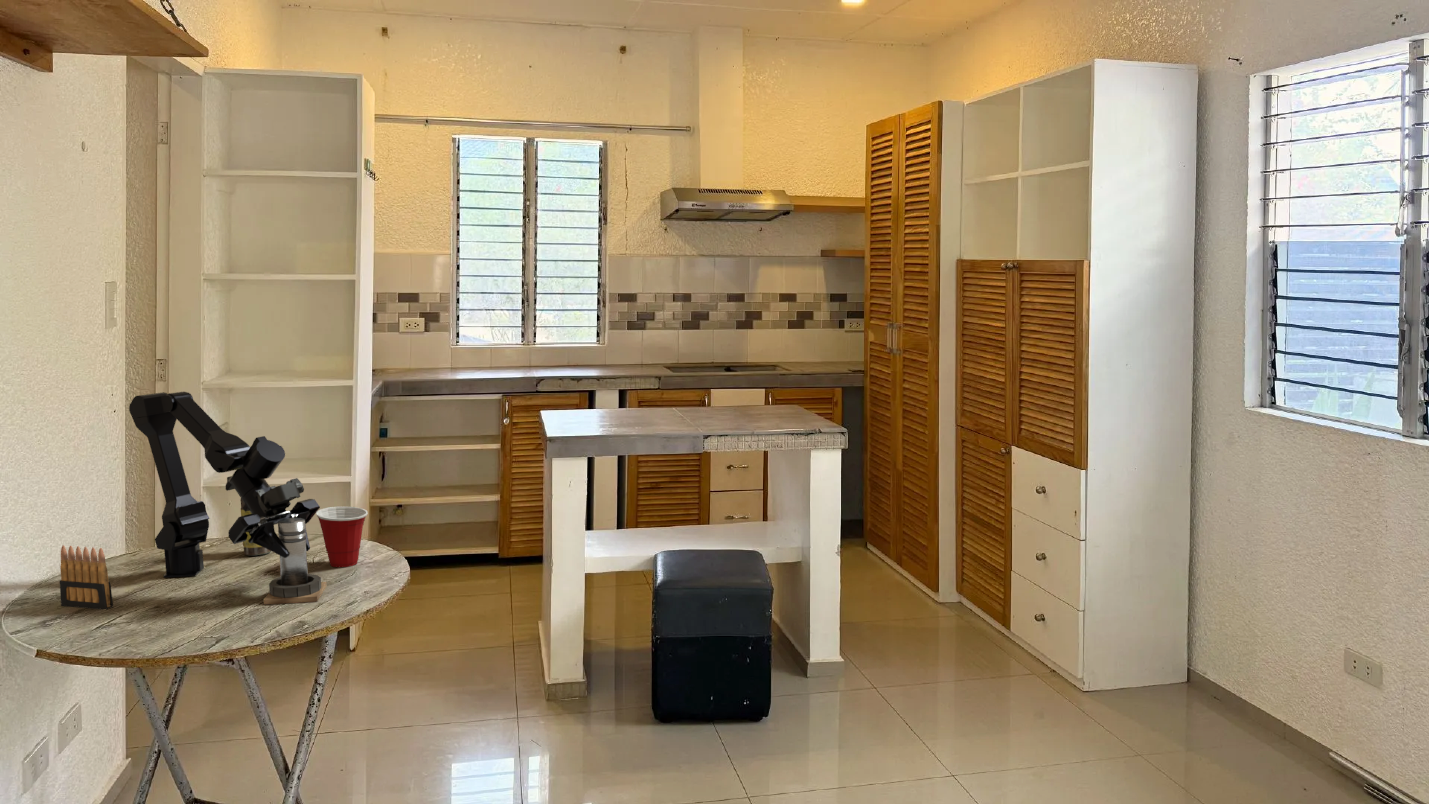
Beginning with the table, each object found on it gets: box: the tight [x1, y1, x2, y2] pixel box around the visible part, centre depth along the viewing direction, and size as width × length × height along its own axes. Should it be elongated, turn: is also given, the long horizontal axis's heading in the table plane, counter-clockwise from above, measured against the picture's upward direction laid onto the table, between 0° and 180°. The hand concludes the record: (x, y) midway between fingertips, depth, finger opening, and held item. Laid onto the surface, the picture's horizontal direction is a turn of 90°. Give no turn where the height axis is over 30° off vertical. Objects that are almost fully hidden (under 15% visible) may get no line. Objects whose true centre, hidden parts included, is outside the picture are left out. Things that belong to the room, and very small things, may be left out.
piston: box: [277, 518, 309, 586], centre depth 220 cm, size 5×5×13 cm
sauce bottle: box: [240, 498, 272, 557], centre depth 251 cm, size 6×6×20 cm
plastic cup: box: [315, 505, 369, 568], centre depth 242 cm, size 11×11×12 cm
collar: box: [263, 573, 328, 605], centre depth 220 cm, size 10×10×3 cm
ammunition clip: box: [59, 544, 114, 610], centre depth 214 cm, size 11×2×12 cm, turn 76°
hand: (297, 553), depth 219 cm, fingers closed on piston, 5 cm apart
